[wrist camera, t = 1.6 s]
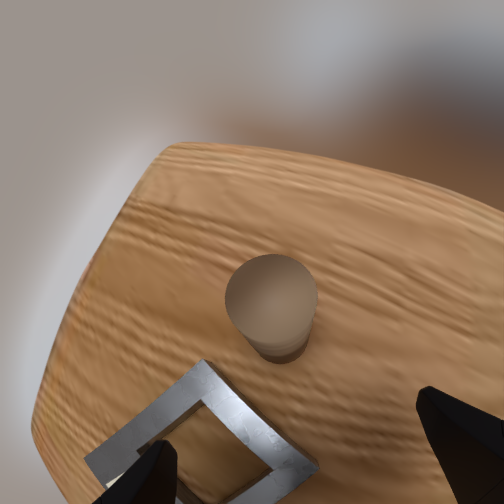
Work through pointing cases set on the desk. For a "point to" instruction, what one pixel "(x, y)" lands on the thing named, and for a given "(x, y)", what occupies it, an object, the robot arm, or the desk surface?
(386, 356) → the desk surface
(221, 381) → the hole plate
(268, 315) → the walnut peg
